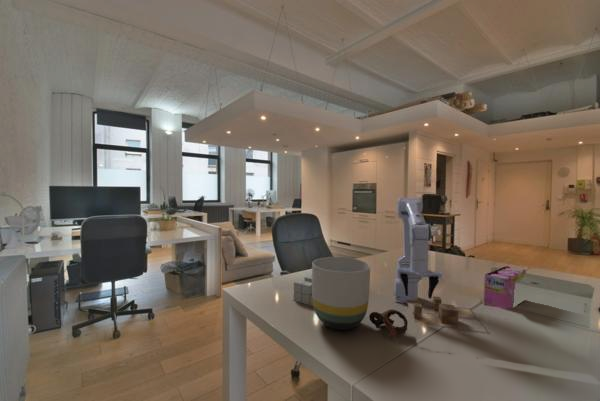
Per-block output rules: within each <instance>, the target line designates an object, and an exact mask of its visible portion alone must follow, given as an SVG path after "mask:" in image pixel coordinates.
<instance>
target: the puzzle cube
mask: <svg viewBox="0 0 600 401" xmlns="http://www.w3.org/2000/svg"><path fill="white" fill-rule="evenodd" d="M293 301H295V302H298V303H302V304H305V305H308V306H310V307H311V306H312V307H314V306H313V299H312V275H306V276H304V280H302V279H298V280H296V281H294V282H293Z"/></svg>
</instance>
